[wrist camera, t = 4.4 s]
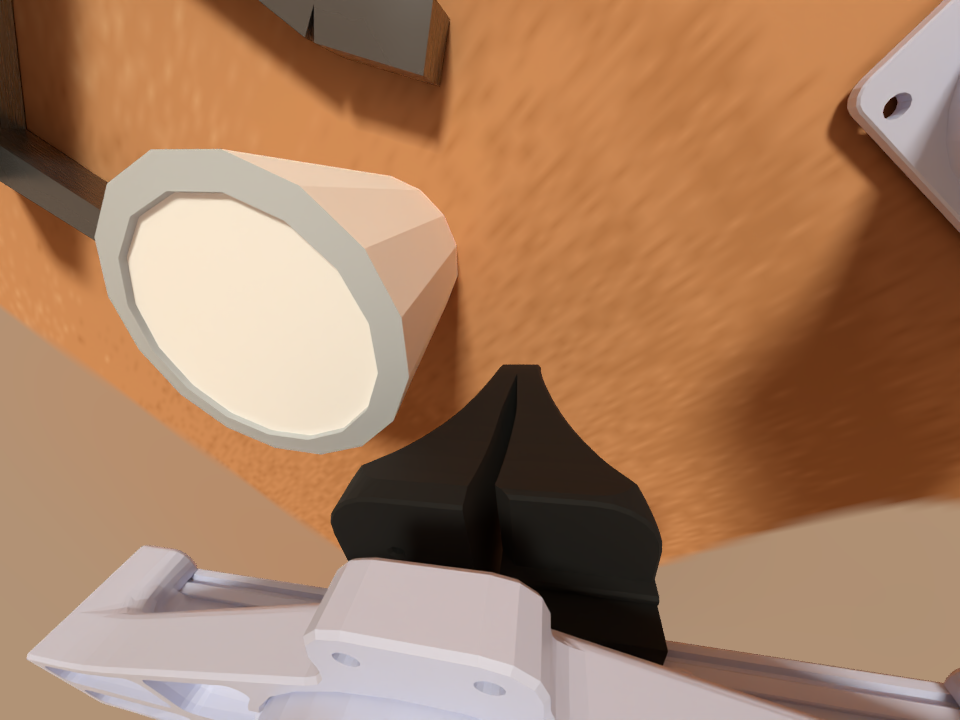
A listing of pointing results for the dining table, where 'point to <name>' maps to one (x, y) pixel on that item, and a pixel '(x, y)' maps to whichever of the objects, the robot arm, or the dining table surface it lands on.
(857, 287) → the dining table surface
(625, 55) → the dining table surface
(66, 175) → the grey hook bracket
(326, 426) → the shot glass
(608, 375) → the dining table surface
